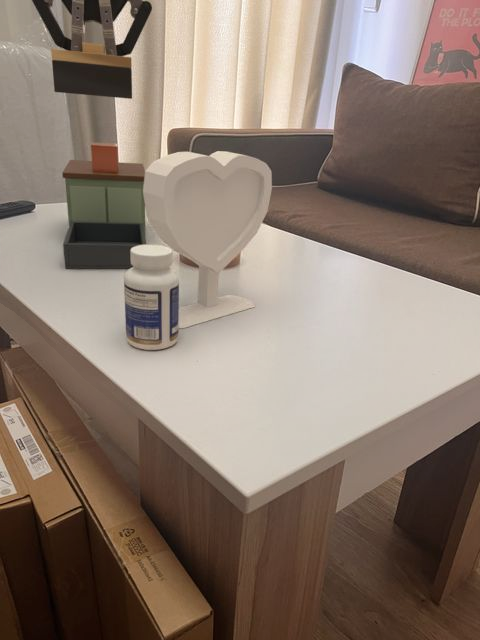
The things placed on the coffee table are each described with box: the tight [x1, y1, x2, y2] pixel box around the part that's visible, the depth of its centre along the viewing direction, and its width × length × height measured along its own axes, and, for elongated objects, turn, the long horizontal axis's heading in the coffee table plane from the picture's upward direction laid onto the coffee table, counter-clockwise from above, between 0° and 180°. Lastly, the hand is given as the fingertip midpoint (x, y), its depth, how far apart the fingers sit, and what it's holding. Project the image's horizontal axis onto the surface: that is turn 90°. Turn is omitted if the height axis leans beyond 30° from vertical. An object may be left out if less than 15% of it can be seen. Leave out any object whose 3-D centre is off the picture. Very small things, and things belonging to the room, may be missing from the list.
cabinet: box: [62, 159, 147, 238], centre depth 90 cm, size 13×15×11 cm
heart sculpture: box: [143, 150, 273, 329], centre depth 60 cm, size 16×5×18 cm, turn 136°
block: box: [90, 141, 119, 173], centre depth 84 cm, size 4×4×4 cm
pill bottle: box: [123, 244, 180, 351], centre depth 53 cm, size 5×5×10 cm
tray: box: [62, 221, 148, 270], centre depth 79 cm, size 11×13×4 cm
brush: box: [50, 42, 133, 100], centre depth 59 cm, size 9×8×5 cm
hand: (96, 92), depth 62 cm, fingers closed on brush
